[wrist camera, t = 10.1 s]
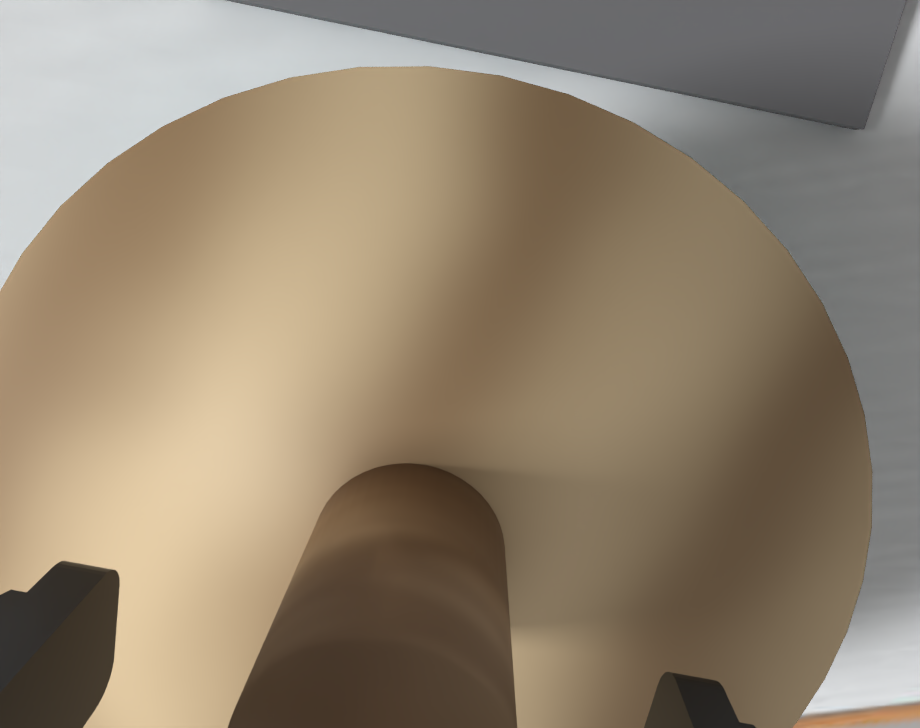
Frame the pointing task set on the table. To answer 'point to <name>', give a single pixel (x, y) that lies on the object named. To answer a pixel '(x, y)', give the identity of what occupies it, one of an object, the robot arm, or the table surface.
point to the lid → (430, 417)
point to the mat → (664, 43)
